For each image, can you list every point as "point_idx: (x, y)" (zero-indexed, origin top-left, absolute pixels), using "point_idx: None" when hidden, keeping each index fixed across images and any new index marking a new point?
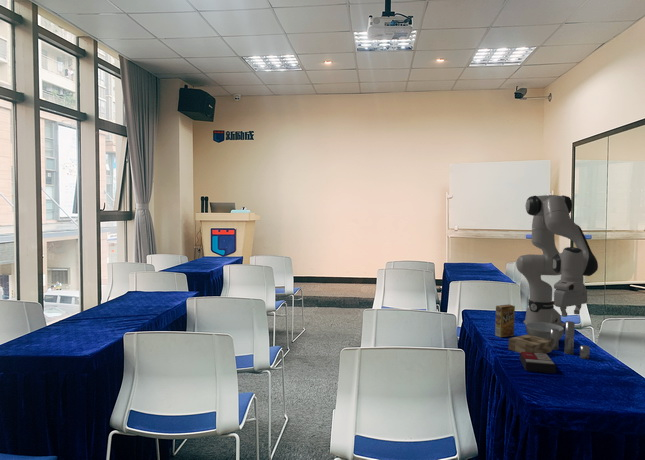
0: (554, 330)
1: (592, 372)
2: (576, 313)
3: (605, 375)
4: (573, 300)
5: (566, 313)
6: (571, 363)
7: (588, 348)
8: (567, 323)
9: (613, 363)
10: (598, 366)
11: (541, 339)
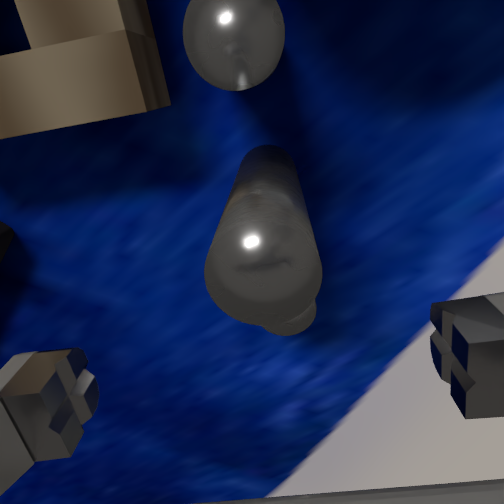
0: (196, 71)
1: (132, 411)
2: (437, 352)
3: (158, 446)
4: None
5: (43, 451)
6: (127, 307)
7: (283, 331)
8: (207, 275)
9: (346, 378)
10: (230, 378)
11: (78, 35)
